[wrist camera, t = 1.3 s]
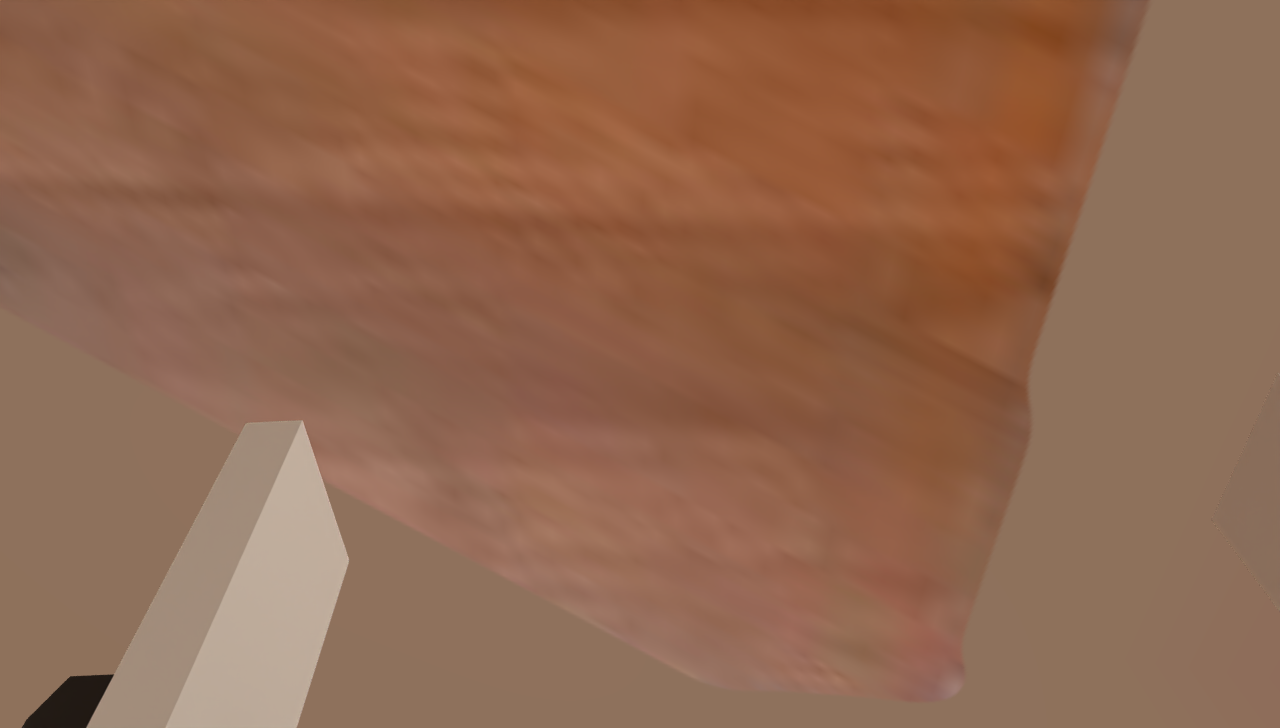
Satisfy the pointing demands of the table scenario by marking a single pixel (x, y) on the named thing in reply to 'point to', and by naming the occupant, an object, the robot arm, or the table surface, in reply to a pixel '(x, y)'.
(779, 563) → the table surface
